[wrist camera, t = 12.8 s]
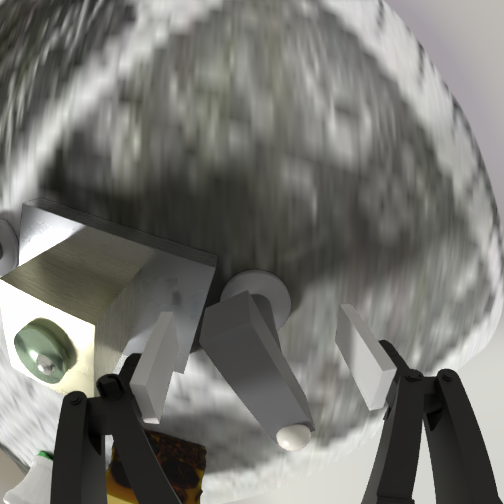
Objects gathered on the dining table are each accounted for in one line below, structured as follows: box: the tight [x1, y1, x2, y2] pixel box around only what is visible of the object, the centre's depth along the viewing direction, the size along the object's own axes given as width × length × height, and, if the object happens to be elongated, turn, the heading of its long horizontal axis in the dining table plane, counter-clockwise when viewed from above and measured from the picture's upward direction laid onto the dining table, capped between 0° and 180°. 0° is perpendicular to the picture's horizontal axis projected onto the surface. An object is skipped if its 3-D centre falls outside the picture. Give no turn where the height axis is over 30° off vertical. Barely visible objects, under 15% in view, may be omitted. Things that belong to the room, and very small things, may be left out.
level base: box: [0, 198, 218, 398], centre depth 15 cm, size 15×9×11 cm, turn 71°
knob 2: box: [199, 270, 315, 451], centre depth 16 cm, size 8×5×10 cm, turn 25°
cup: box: [3, 452, 53, 504], centre depth 23 cm, size 11×11×14 cm
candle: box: [106, 429, 207, 504], centre depth 22 cm, size 10×10×10 cm
